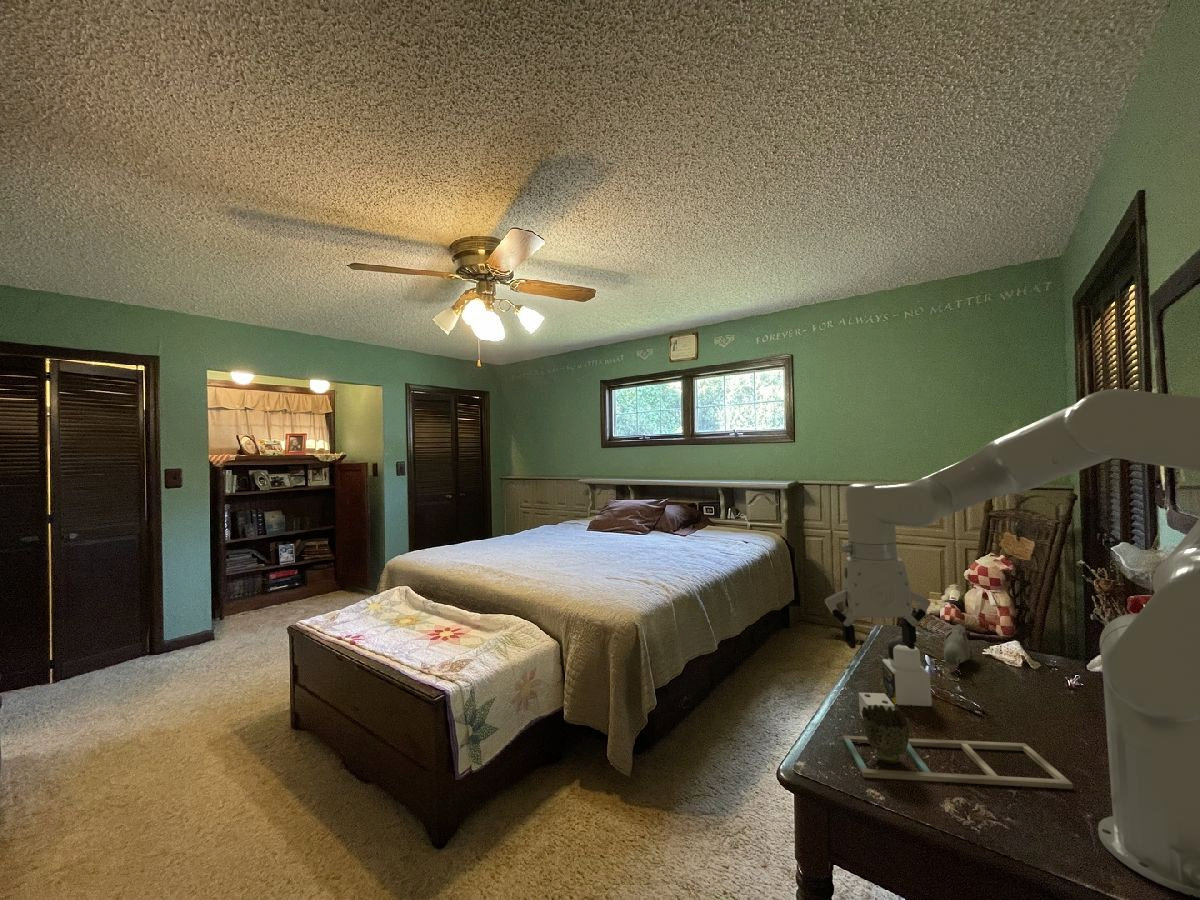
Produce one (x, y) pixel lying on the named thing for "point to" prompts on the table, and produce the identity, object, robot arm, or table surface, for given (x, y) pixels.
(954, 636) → the decorative bird
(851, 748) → the ladder
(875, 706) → the dark patterned vase
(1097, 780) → the table surface
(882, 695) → the die
